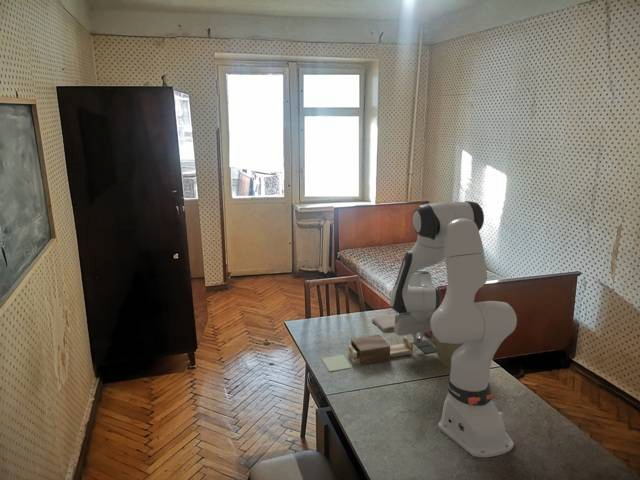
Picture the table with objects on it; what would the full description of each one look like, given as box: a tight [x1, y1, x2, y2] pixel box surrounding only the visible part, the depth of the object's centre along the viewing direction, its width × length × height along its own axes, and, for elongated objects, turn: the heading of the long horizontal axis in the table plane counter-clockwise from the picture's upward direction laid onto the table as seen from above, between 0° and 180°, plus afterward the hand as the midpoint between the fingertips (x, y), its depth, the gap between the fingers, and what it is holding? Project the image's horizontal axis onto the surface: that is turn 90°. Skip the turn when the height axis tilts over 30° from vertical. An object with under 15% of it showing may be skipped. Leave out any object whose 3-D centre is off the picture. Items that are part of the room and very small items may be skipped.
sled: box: [347, 335, 414, 364], centre depth 182 cm, size 6×25×5 cm, turn 107°
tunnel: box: [350, 334, 391, 367], centre depth 180 cm, size 10×12×6 cm
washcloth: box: [371, 312, 398, 333], centre depth 210 cm, size 12×18×3 cm, turn 110°
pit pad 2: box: [419, 345, 437, 355], centre depth 186 cm, size 5×6×1 cm
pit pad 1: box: [413, 339, 432, 349], centre depth 191 cm, size 5×6×1 cm
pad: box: [321, 354, 353, 373], centre depth 177 cm, size 10×9×1 cm
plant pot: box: [432, 335, 463, 369], centre depth 174 cm, size 15×15×16 cm
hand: (417, 341), depth 186 cm, fingers closed
